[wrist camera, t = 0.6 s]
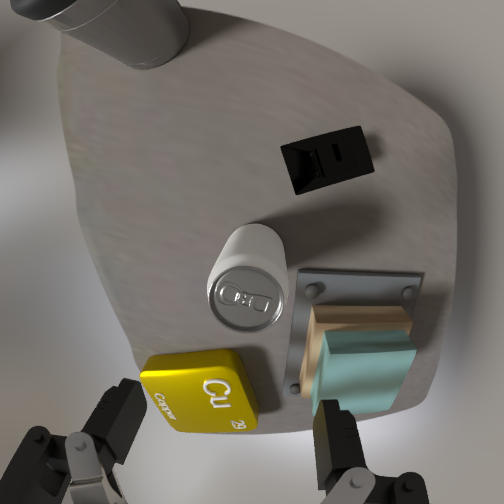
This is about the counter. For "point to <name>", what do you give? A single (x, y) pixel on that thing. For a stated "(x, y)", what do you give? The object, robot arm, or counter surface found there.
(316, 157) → the black slotted housing
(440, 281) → the counter surface
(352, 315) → the brick tower
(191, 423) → the element tile
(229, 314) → the can
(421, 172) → the counter surface
